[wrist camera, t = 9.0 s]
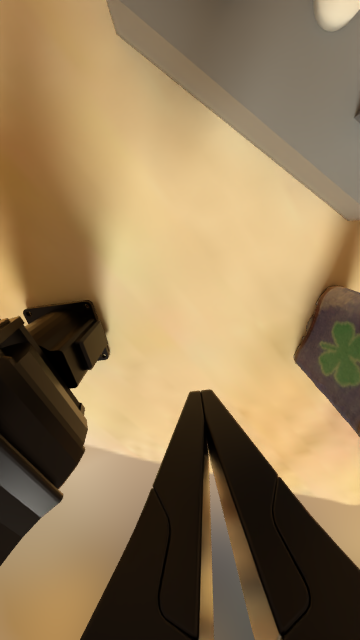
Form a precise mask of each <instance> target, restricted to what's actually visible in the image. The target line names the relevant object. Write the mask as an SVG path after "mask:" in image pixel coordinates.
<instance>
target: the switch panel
mask: <svg viewBox="0 0 360 640" xmlns="http://www.w3.org/2000/svg"><path fill="white" fill-rule="evenodd" d="M106 1H107V4H108V7H109V11H110V14H111V17H112V20H113V24H114V27H115V30H116V34H117V35H118V36H120V37H121V38H122V39H123V40H125V41H126V42H127V43H128V44H130V45H131V46H132V47H133V48H135V49H136V50H137V51H138V52H140V53H141V54H142V55H143V56H144V57H146V58H147V59H148V60H149V61H151V62H152V63H153V64H154V65H156V66H157V67H158V68H159V69H161V70H162V71H163V72H164V73H166V74H167V75H168V76H169V77H170V78H172V79H173V80H174V81H175V82H177V83H178V84H179V85H180V86H182V87H183V88H184V89H185V90H187V91H188V92H189V93H190V94H192V95H193V96H194V97H195V98H197V99H198V100H199V101H200V102H201V103H203V104H204V105H205V106H206V107H208V108H209V109H210V110H211V111H213V112H214V113H215V114H216V115H218V116H219V117H220V118H221V119H223V120H224V121H225V122H226V123H228V124H229V125H230V126H231V127H232V128H234V129H235V130H236V131H237V132H239V133H240V134H241V135H242V136H244V137H245V138H246V139H247V140H249V141H250V142H251V143H252V144H254V145H255V146H256V147H257V148H258V149H260V150H261V151H262V152H263V153H265V154H266V155H267V156H268V157H270V158H271V159H272V160H273V161H275V162H276V163H277V164H278V165H280V166H281V167H282V168H283V169H285V170H286V171H287V172H288V173H289V174H291V175H292V176H293V177H294V178H296V179H297V180H298V181H299V182H301V183H302V184H303V185H304V186H306V187H307V188H308V189H309V190H311V191H312V192H313V193H314V194H315V195H317V196H318V197H319V198H320V199H322V200H323V201H324V202H325V203H327V204H328V205H329V206H330V207H332V208H333V209H334V210H335V211H337V212H338V213H339V214H340V215H342V216H343V217H344V218H345V219H346V220H348V221H353V220H360V0H106Z"/></svg>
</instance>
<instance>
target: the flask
mask: <svg viewBox="0 0 360 640" xmlns="http://www.w3.org/2000/svg"><path fill="white" fill-rule="evenodd" d="M316 305H317V307H316V310H315V312H314V314H313V315H312V317H311V318H310V321H309V322H308V325H307V326H306V327H307V328H306V329H307V330H306V331H307V333H306V335H305V336H304V337H302V343H301V345H300V346H299V347H298V349H297V351H296V353H295V355H294V356H293V357H294V360H295V362H296V363H295V364H298V366H299V367H300V368H301V369H302V370H303V371H304V372H305V373H306V374H307V376H308V377H309V378H310V379H311V380H312V381H313V383H314V384H315V385H316V387H317V388H318V389H319V390H320V391H321V392H322V393H323V394H324V395H325V396H326V397H327V398H328V399H329V401H330V402H331V403H332V405H333V406H334V407H335V408H336V409H337V411H338V412H339V413H340V414H341V416H342V417H343V418H344V419H345V420H346V421H347V422H348V423H349V424H350V425H351V427H352V428H353V429H354V430H355V432H356V433H357V434H358V436H359V437H360V293H359V292H356V291H353V290H350V289H347V288H345V287H342V286H332V287H328V288H327V290H326V291H325V292H324V293H323V294H322V295H321V296H320V298H319V299H318V301H317V303H316Z"/></svg>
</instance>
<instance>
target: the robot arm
mask: <svg viewBox="0 0 360 640" xmlns="http://www.w3.org/2000/svg"><path fill="white" fill-rule="evenodd" d="M85 304H87V305H88V306H89V308H87V307H86V306H85ZM29 312H30V313H31V314H32V315H31V314H30V313H29ZM23 314H24V316H25V318H26V320H27V322H28V325H27V326H24V325H23V324H24V322H23V320H22V319H21V317H20V316H18V317H15V318H12V319H8V318H6V319H2V320H1V319H0V566H1V565H2V563H3V562H4V561H5V559H6V558H7V556H8V555H9V554H10V553H11V551H12V550H13V549H14V548H15V546H16V545H17V544H18V542H19V541H20V540H21V539H22V537H23V536H24V535H25V534H26V533H27V532H28V531H29V530H30V529H31V528H32V527H33V526H34V524H36V523H37V522H38V520H39V519H40V518H41V517H43V516H44V515H45V514H46V513H47V512H49V511H50V510H51V509H52V508H53V507H55V506H56V505H57V504H58V503H60V502H61V500H62V498H63V493H61V491H59V490H58V489H59V488H60V487H61V486H62V485H63V484H64V483H65V481H66V480H67V479H68V477H69V476H70V474H71V473H72V472H73V471H74V469H75V468H76V466H77V465H78V463H79V461H80V459H81V458H82V456H83V454H84V452H85V447H84V446H83V445H84V442H85V438H86V434H87V431H88V427H87V420H86V418H85V417H84V411H85V407H84V406H83V405H82V403H79V402H78V400H77V399H76V397H75V396H74V395H73V393H72V392H71V390H70V388H76V387H77V386H78V385H79V383H80V382H81V380H82V378H83V377H84V375H85V374H86V372H87V371H88V370H91V369H92V368H93V367H94V365H95V363H96V362H97V361H100V360H106V359H108V357H109V355H110V353H109V350H108V347H107V344H108V342H107V339H106V336H105V333H104V330H103V327H102V324H101V322H100V321H99V320H98V317H97V314H96V311H95V308H94V305H93V303H92V302H91V301H89V300H84V301H76V302H68V303H61V304H53V305H46V306H38V307H31V308H27V309H25V310H24V311H23ZM103 354H105V355H106V356H104V355H103ZM207 444H208V445H207ZM208 451H209V454H208ZM209 456H210V461H211V465H212V469H213V473H214V477H215V481H216V485H217V489H218V493H219V497H220V502H221V506H222V510H223V513H224V518H225V522H226V525H227V530H228V534H229V537H230V542H231V546H232V550H233V554H234V558H235V562H236V566H237V570H238V574H239V578H240V582H241V586H242V590H243V594H244V599H245V602H246V607H247V610H248V615H249V618H250V622H251V627H252V631H253V635H254V639H255V640H360V569H359V568H358V567H357V566H356V565H355V564H354V563H353V562H352V561H351V560H350V558H349V557H348V556H347V555H346V554H345V553H344V552H343V551H342V550H341V549H340V548H339V546H338V545H337V544H336V543H335V542H334V541H333V540H332V539H331V537H329V535H328V534H327V533H326V532H325V531H324V529H323V528H322V527H321V526H320V525H319V524H318V523H317V522H316V521H315V519H314V518H313V517H312V516H311V515H310V514H309V512H308V511H307V510H306V509H305V507H304V506H303V505H302V504H301V503H300V501H299V500H298V499H297V498H296V497H295V495H294V494H293V493H292V492H291V490H290V489H289V488H288V486H287V485H286V484H285V483H284V481H283V480H282V479H281V478H280V477H278V474H277V473H276V471H275V470H274V469H273V467H272V466H271V465H270V464H269V462H268V461H267V460H266V459H265V457H264V456H263V455H262V453H261V452H260V451H259V450H258V448H257V447H256V446H255V444H254V443H253V442H252V441H251V439H250V438H249V437H248V436H247V434H246V433H245V432H244V430H243V429H242V428H241V427H240V425H239V424H238V423H237V422H236V420H235V419H234V418H233V416H232V415H231V414H230V413H229V411H228V410H227V409H226V407H225V406H224V405H223V404H222V402H221V401H220V400H219V399H218V397H217V396H216V395H215V393H214V392H213V391H212V390H202V391H201V392H200V391H192V392H190V393H189V395H188V397H187V400H186V402H185V405H184V407H183V410H182V412H181V415H180V418H179V420H178V423H177V425H176V428H175V430H174V433H173V435H172V438H171V440H170V443H169V445H168V448H167V450H166V453H165V456H164V458H163V461H162V463H161V466H160V468H159V471H158V473H157V476H156V479H155V481H154V483H153V488H152V489H151V491H150V493H149V496H148V498H147V501H146V503H145V506H144V508H143V510H142V513H141V516H140V518H139V520H138V522H137V525H136V527H135V529H134V532H133V534H132V536H131V538H130V540H129V542H128V544H127V546H126V548H125V550H124V552H123V555H122V557H121V559H120V561H119V563H118V565H117V567H116V569H115V571H114V573H113V575H112V577H111V579H110V581H109V583H108V585H107V587H106V589H105V591H104V593H103V595H102V597H101V599H100V601H99V603H98V605H97V607H96V609H95V611H94V613H93V615H92V617H91V619H90V621H89V623H88V625H87V627H86V629H85V631H84V633H83V635H82V637H81V639H80V640H214V621H213V588H212V551H211V518H210V517H211V516H210V481H209Z"/></svg>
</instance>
